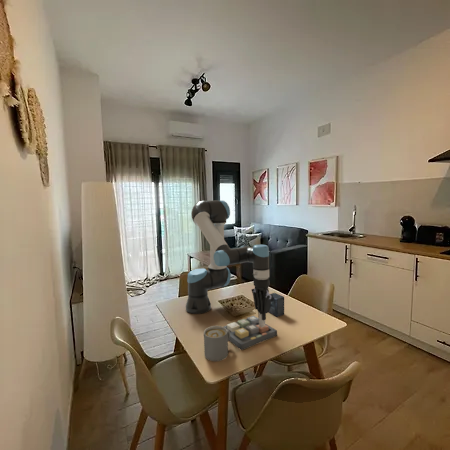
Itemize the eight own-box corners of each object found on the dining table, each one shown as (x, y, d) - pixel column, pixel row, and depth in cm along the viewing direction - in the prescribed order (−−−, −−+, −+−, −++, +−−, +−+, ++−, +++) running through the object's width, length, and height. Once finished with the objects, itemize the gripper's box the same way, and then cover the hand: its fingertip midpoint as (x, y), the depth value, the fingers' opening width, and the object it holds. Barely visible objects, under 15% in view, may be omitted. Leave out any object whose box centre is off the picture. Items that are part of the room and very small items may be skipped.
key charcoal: (245, 330, 122) (245, 326, 122) (253, 328, 125) (252, 323, 124) (251, 334, 119) (251, 330, 118) (258, 331, 121) (258, 327, 121)
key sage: (237, 324, 128) (237, 320, 128) (244, 322, 131) (244, 318, 130) (242, 328, 125) (242, 324, 124) (249, 325, 127) (249, 321, 127)
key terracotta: (255, 329, 126) (255, 325, 125) (262, 326, 128) (262, 322, 128) (261, 333, 122) (261, 328, 122) (268, 330, 124) (268, 326, 124)
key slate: (246, 321, 131) (246, 317, 131) (253, 319, 134) (253, 315, 134) (252, 325, 128) (252, 320, 128) (259, 322, 130) (259, 318, 130)
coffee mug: (213, 364, 103) (212, 340, 102) (200, 353, 111) (199, 330, 110) (239, 352, 111) (238, 329, 110) (225, 342, 119) (224, 321, 118)
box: (267, 312, 149) (267, 294, 148) (275, 309, 152) (274, 292, 151) (277, 317, 142) (276, 298, 141) (284, 314, 145) (284, 296, 144)
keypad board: (219, 332, 127) (219, 327, 127) (253, 321, 138) (253, 316, 138) (241, 350, 112) (241, 343, 111) (277, 335, 123) (276, 329, 123)
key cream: (227, 328, 125) (226, 324, 125) (234, 325, 127) (234, 321, 127) (232, 332, 121) (232, 327, 121) (239, 329, 124) (239, 325, 123)
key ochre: (235, 334, 119) (235, 330, 119) (243, 331, 121) (242, 327, 121) (240, 338, 115) (240, 334, 115) (248, 335, 118) (248, 331, 118)
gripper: (246, 275, 126) (247, 322, 128) (264, 282, 115) (265, 333, 117) (258, 273, 130) (259, 318, 132) (276, 279, 119) (277, 328, 121)
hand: (262, 325), depth 125 cm, fingers closed
